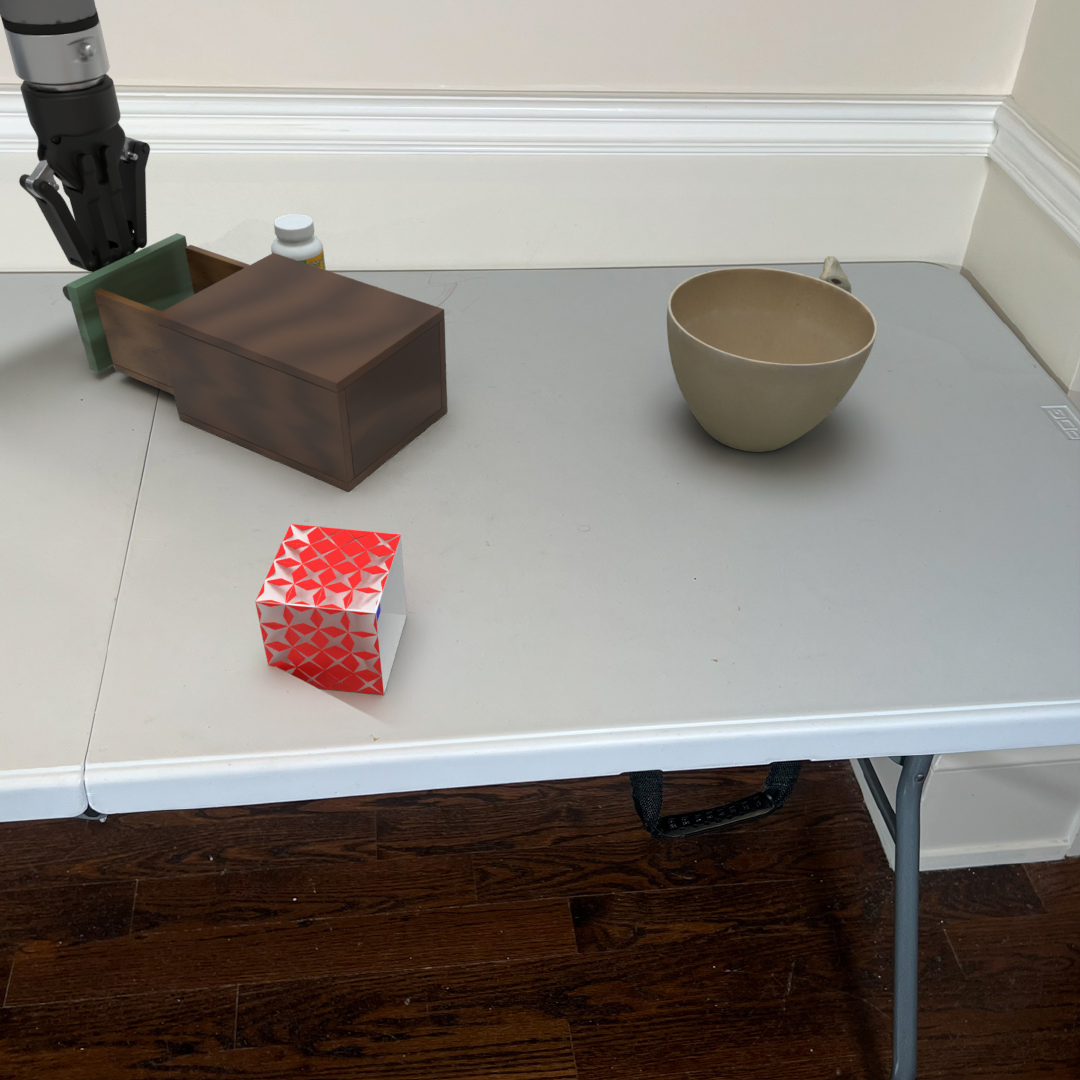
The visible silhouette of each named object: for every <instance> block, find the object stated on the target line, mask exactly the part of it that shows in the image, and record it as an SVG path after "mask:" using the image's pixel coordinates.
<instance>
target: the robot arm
mask: <svg viewBox="0 0 1080 1080" xmlns="http://www.w3.org/2000/svg"><path fill="white" fill-rule="evenodd" d="M0 19H1V22H2V26H3V29H4V34H5V38H6V42H7V46H8V49H9V53H10V57H11V60H12V65H13V68H14V72H15V75H16V77H17V78H19V79H21V80H22V84H21V85H20V91H21V95H22V99H23V103H24V106H25V110H26V114H27V117H28V121H29V123H30V126H31V127H32V129H33V131H34V134H35V135H36V138H37V150H36V156H37V159H38V161H39V162H38V164H37V165H36V166H35V168H34V170H33V171H32V173H31V174H27V173H24V174H21V176H19V180H18V183H19V185H20V187H21V188H22V189H23V190H24V191H25V192H27V193H28V194H29V196H31V197H32V198H33V199H34V200H35V202H36V204H37V205H38V207H39V209H40V211H41V213H42V215H43V217H44V218H45V220H46V222H47V224H48V226H49V228H50V230H51V231H52V233H53V235H54V237H55V239H56V241H57V243H58V245H59V246H60V248H61V250H62V252H63V254H64V255H65V258H66V259H67V261H68V263H69V264H70V265H71V266H74V267H77V268H79V269H82V270H83V271H84V270H85V271H87V272H90V273H92V272H95V271H97V270H99V269H101V268H103V267H105V266H107V265H110V264H112V263H114V262H116V261H118V260H120V259H122V258H125V257H127V256H129V255H131V254H133V253H135V252H137V251H138V249H144V248H146V247H147V244H148V222H147V221H148V219H147V217H148V216H147V177H146V168H147V164H148V161H149V157H150V152H151V146H150V144H149V143H148V142H145V141H143V140H138V139H135V138H132V137H128V136H126V132H125V130H124V129H123V127H122V126H121V125H120V121H121V117H122V115H121V109H120V106H119V102H118V97H117V91H116V87H115V83H114V80H113V78H111V77H110V76H109V74H108V72H109V71H110V68H111V67H110V66H111V65H110V61H109V57H108V52H107V47H106V43H105V39H104V34H103V30H102V25H101V20H100V18H99V12H98V10H97V7H96V1H95V0H0ZM55 177H56V178H57V179H58V180H59V181H60V182H61V185H62V189H63V193H64V194H65V195H66V196H67V198H68V199H69V203H70V206H71V210H72V212H71V210H70V208H69V206H68V204H67V202H66V200H65V199H64V197H63V196H62V194H61V193H60V192H58V191H59V190H60V184H58V183H57V181H56V179H55Z"/></svg>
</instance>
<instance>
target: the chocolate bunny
mask: <svg viewBox="0 0 1080 1080" xmlns="http://www.w3.org/2000/svg"><path fill="white" fill-rule="evenodd" d="M822 269H823V270H822V272H821V274H820V276H819V277H818V279H821V280H824V281H826V282H829V283H831V284H833V285H836V286H838V287H840V288H842V289H844V290H845V291H847V292H849V293H851V294H852V285H851V282H850V281H849V278H848V276H847V275H846V273H845V272H844V270H843V268H842V266H841V261H839V260H838V259H837V257H835V256H831V255H829V256H826V257H825V259H824V260H823V268H822Z"/></svg>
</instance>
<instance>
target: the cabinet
mask: <svg viewBox="0 0 1080 1080" xmlns="http://www.w3.org/2000/svg"><path fill="white" fill-rule="evenodd" d="M156 318H157V323H158V327H159V331H160V336H161V340H162V344H163V349H164V353H165V357H166V362H167V366H168V370H169V375H170V379H171V383H172V388H173V392H174V395H173V397H174V400H175V404H176V408H177V414H178V418H179V421H182V422H184V423H186V424H189V425H191V426H193V427H196V428H198V429H201V430H203V431H205V432H208V433H210V434H213V435H215V436H217V437H218V438H222V439H224V440H226V441H229V442H231V443H233V444H236V445H238V446H240V447H243V448H245V449H247V450H249V451H252V452H254V453H257V454H259V455H261V456H263V457H266V458H269V459H270V460H273V461H275V462H278V463H280V464H283V465H285V466H287V467H289V468H292V469H294V470H297V471H299V472H302V473H304V474H306V475H308V476H311V477H312V478H315V479H318V480H319V481H323V482H325V483H327V484H330V485H332V486H334V487H336V488H339V489H342V490H343V491H345V492H350V491H352V490H353V489H354V488H356V487H357V485H359V484H360V483H361V482H363V481H364V480H365V479H367V477H369V476H370V475H371V474H373V473H374V472H375V471H376V470H378V469H379V468H380V467H381V466H382V465H384V464H385V463H386V462H388V460H390V459H391V458H392V457H394V456H395V455H396V454H398V453H399V452H400V451H401V450H402V449H404V447H406V446H407V445H408V444H410V443H411V442H412V441H414V440H415V439H416V438H417V437H418V436H420V435H421V434H422V433H423V432H425V431H426V430H427V429H428V428H429V427H431V426H432V425H433V424H435V422H437V421H438V420H439V419H440V418H441V417H443V416H444V415H445V414H447V413H448V390H447V389H448V388H447V387H448V384H447V383H448V382H447V352H446V351H447V350H446V347H447V346H446V321H445V319H446V318H445V309H444V308H442V307H439V306H436V305H433V304H430V303H426V302H425V301H424V302H423V301H421V300H418V299H414V298H412V297H408V296H406V295H403V294H399V293H396V292H393V291H391V290H388V289H384V288H381V287H378V286H375V285H372V284H369V283H366V282H363V281H360V280H357V279H354V278H351V277H347V276H345V275H342V274H338V273H336V272H333V271H330V270H324V269H321V268H318V267H315V266H312V265H309V264H306V263H303V262H300V261H296V260H293V259H290V258H287V257H284V256H281V255H278V254H275V253H272V252H271V253H270V254H268V255H265V256H264V257H263V258H261V259H259V260H257V261H255V262H253V263H251V264H249V266H247V267H245V268H244V269H242V270H240V271H238V272H236V273H234V274H232V275H230V276H228V277H226V278H225V279H223V280H221V281H219V282H217V283H215V284H213V285H211V286H209V287H207V288H206V289H204V290H202V291H200V292H198V293H196V294H194V295H192V296H190V297H188V298H187V299H185V300H183V301H181V302H179V303H177V304H175V305H173V306H171V307H170V308H168V309H166V310H164V311H162V312H160V313H158V314H156Z"/></svg>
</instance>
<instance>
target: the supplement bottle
mask: <svg viewBox="0 0 1080 1080" xmlns="http://www.w3.org/2000/svg"><path fill="white" fill-rule="evenodd" d="M273 229H274V234H275V236H276V238H275V239H274V240H273V241H272V243H271V246H270V251H271V254H272V253H275V254H278V255H281V256H284V257H287V258H290V259H293V260H296V261H300V262H303V263H306V264H309V265H312V266H315V267H318V268H321V269H324V270H326V261H325V251H324V246H323V242H322V240H321V239H320V238H319V237H318V236H317V235H315V226H314V220H313V218H312V217H311V216H309V215H306V214H303V213H289V214H288V213H287V214H284V215H281V216H279V217H277V218H275V220H274V221H273Z"/></svg>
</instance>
